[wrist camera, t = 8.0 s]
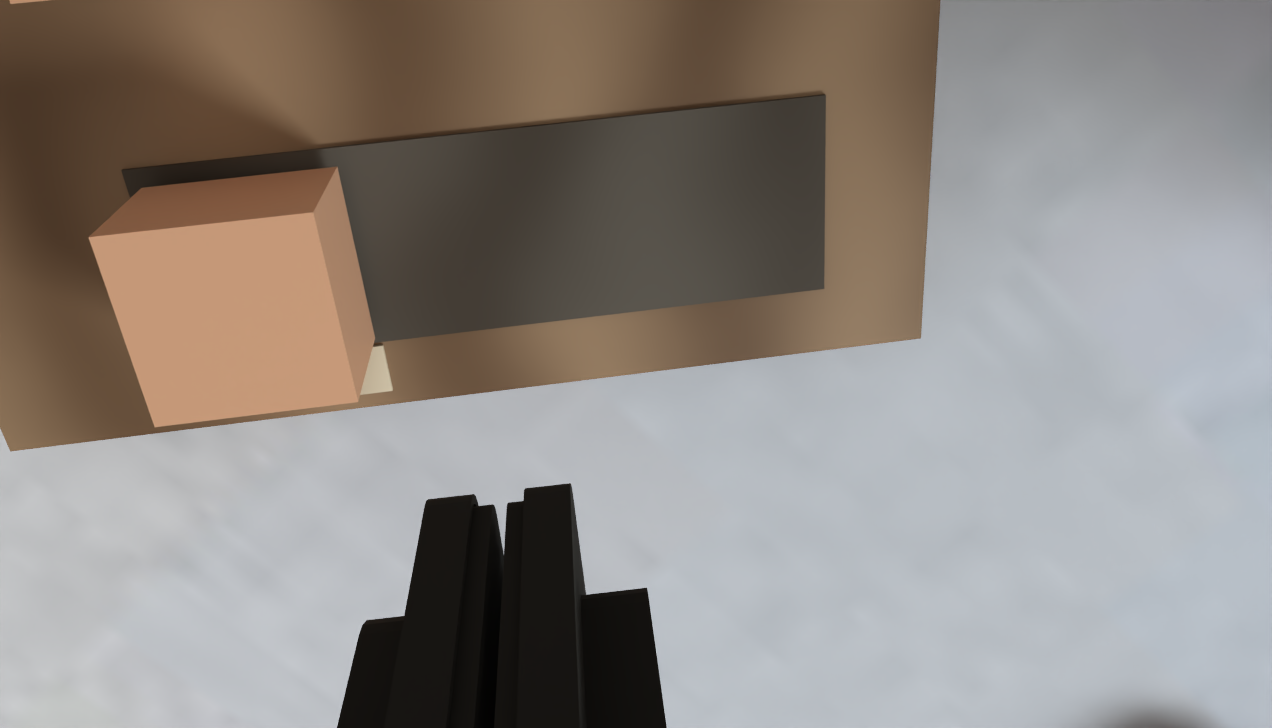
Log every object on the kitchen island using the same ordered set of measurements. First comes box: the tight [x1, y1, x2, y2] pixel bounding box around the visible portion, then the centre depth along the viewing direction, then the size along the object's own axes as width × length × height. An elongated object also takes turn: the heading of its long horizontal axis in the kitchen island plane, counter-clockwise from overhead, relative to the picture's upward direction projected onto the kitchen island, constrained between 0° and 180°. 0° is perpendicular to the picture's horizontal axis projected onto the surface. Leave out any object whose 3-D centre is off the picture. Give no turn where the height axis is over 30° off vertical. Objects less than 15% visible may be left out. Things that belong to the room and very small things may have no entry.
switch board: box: [0, 0, 940, 451], centre depth 22 cm, size 22×16×2 cm
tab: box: [89, 167, 375, 427], centre depth 21 cm, size 4×4×3 cm
